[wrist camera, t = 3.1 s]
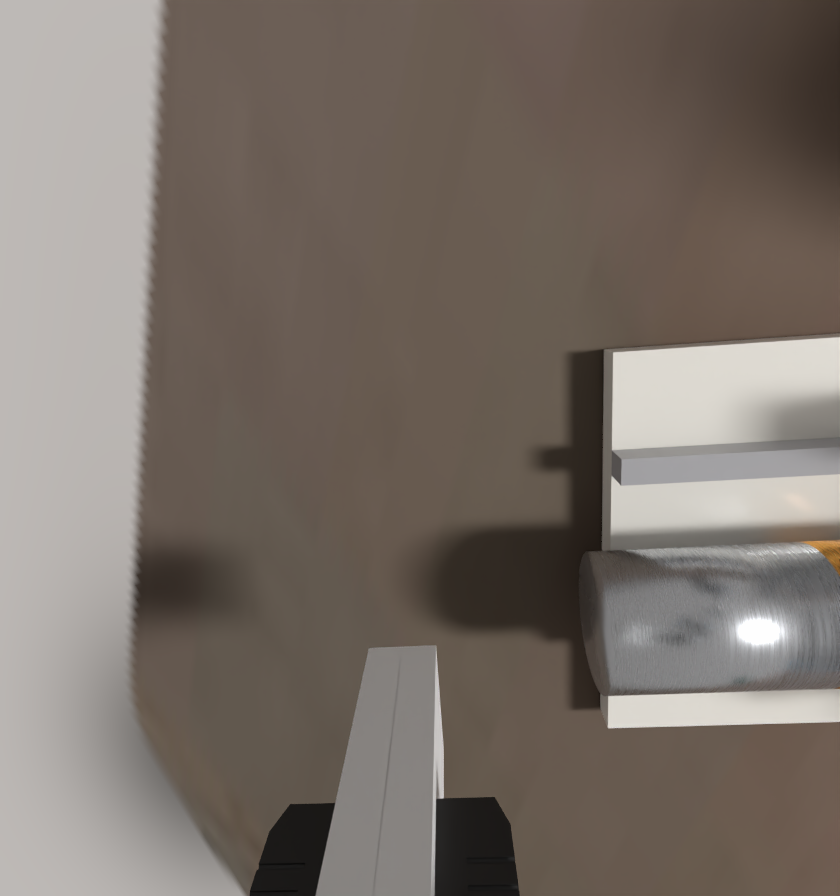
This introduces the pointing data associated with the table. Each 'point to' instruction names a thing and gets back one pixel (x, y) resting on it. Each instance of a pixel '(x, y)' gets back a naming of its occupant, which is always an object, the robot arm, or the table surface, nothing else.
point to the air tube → (712, 618)
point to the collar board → (721, 479)
